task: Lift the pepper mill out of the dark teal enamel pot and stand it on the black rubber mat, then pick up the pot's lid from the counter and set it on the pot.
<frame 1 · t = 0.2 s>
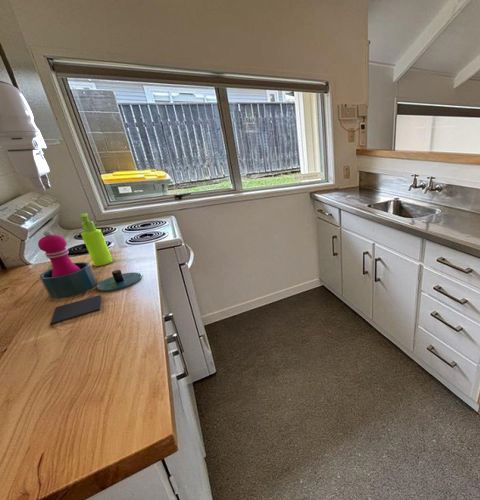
hand: (44, 190, 88), 31 cm above the counter, tool pointing down, fingers open, 8 cm apart
pepper mill: (74, 289, 91), resting on pot
pot: (75, 290, 92), on the counter
soap dispenser: (104, 263, 112), on the counter
mat: (78, 310, 80), on the counter
lid: (120, 282, 94), point 1 cm above the counter
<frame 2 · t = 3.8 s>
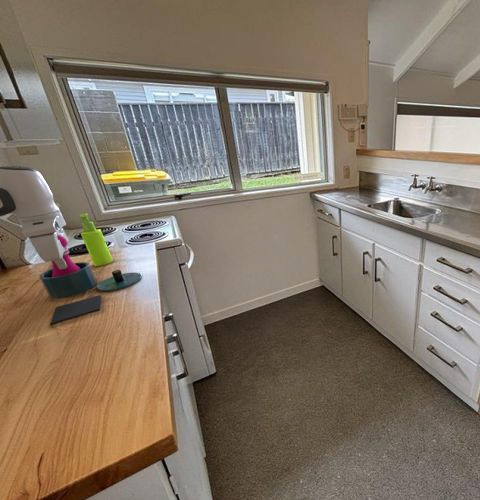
hand: (64, 265, 88), 9 cm above the counter, tool pointing down, fingers closed on pepper mill, 5 cm apart
pepper mill: (74, 289, 91), resting on pot, touching arm, gripper
everything else where it was.
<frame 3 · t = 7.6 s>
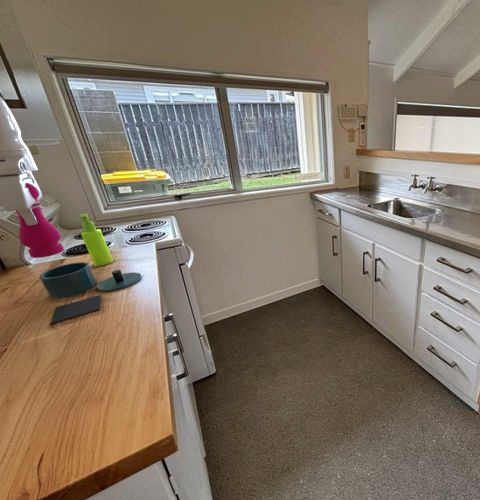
hand: (35, 221, 71), 26 cm above the counter, tool pointing down, fingers closed on pepper mill, 5 cm apart
pepper mill: (48, 254, 74), point 17 cm above the counter, touching arm, gripper
everything else where it was.
when the fingers open (10 cm above the counter, at t = 11.6 s): pepper mill stays where it is, resting on mat.
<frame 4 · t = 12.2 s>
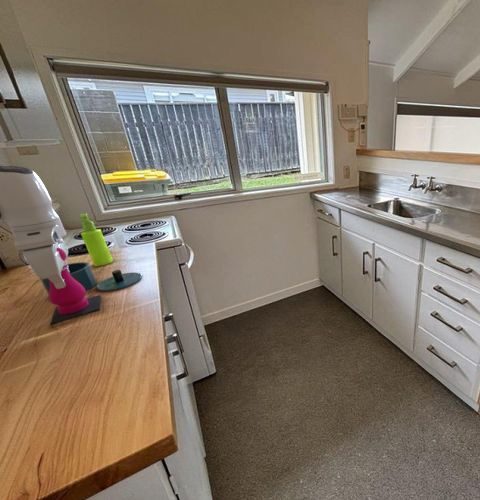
hand: (63, 280, 77), 10 cm above the counter, tool pointing down, fingers open, 8 cm apart
pepper mill: (74, 308, 80), point 1 cm above the counter, touching mat
everything else where it was.
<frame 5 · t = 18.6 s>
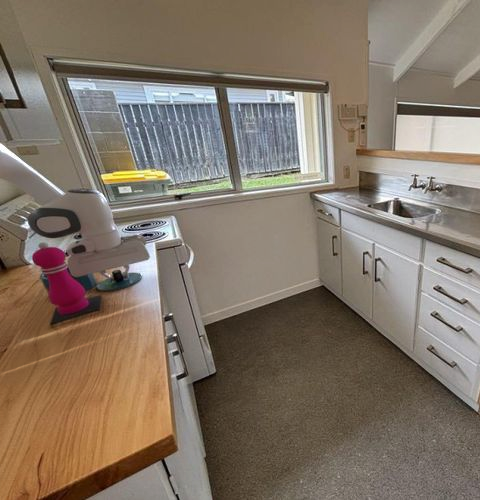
hand: (119, 279, 94), 2 cm above the counter, tool pointing down, fingers closed on lid, 2 cm apart
lid: (120, 282, 94), point 1 cm above the counter, touching gripper
everything else where it was.
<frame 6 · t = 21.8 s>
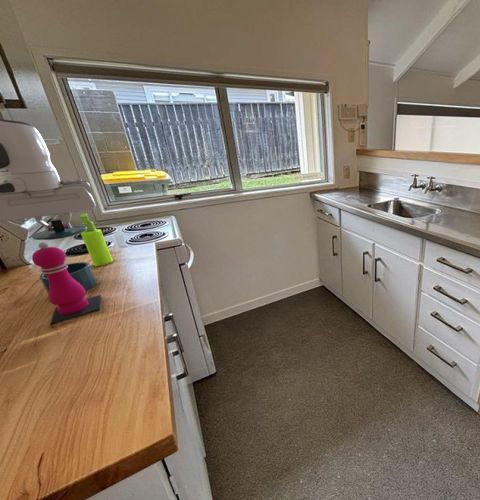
hand: (59, 229, 84), 20 cm above the counter, tool pointing down, fingers closed on lid, 2 cm apart
lid: (61, 233, 85), point 19 cm above the counter, touching gripper
everything else where it was.
when the fingers open (8 cm above the counter, at t = 25.2 s): lid stays where it is, resting on pot.
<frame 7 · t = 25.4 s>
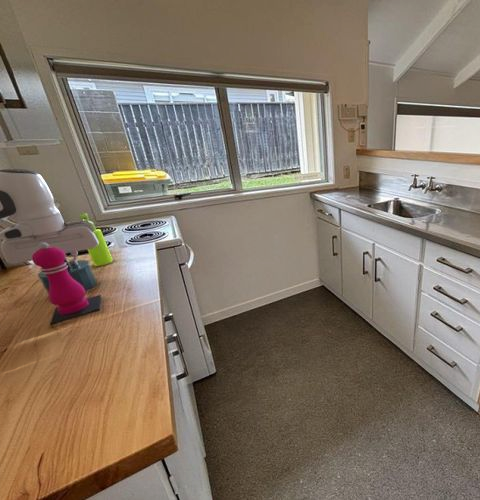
hand: (64, 267, 88), 8 cm above the counter, tool pointing down, fingers open, 4 cm apart
lid: (65, 269, 89), point 7 cm above the counter, touching pot
everything else where it was.
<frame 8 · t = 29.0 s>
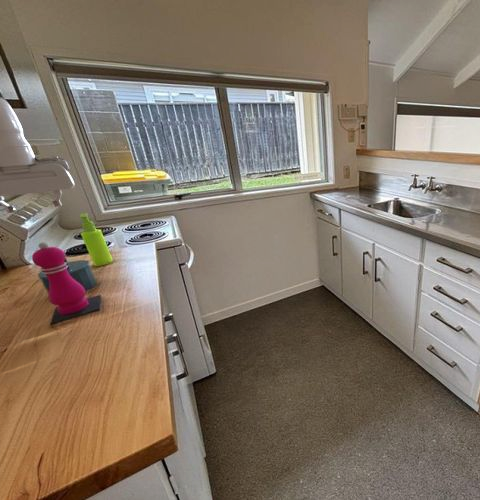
hand: (36, 209, 81), 27 cm above the counter, tool pointing down, fingers open, 8 cm apart
nothing on the counter moved.
at the end: pepper mill inside the target area on the mat (0.6 cm from its centre), point 0.8 cm above the mat's base; pepper mill tilted 0°; lid 0.1 cm off-centre on the pot, point 7.5 cm above the pot's base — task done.
